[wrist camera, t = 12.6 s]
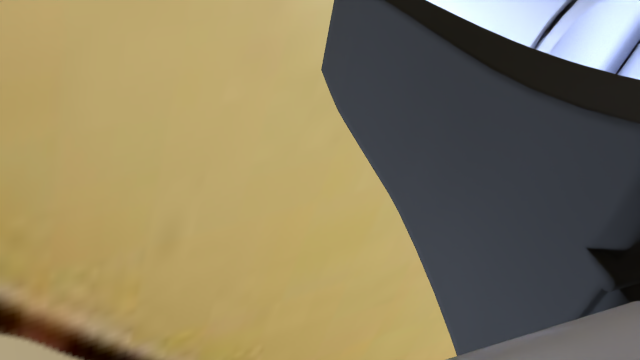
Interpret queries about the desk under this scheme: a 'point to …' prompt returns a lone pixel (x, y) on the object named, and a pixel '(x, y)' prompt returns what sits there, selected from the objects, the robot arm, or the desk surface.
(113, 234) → the desk surface
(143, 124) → the desk surface
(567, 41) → the robot arm
